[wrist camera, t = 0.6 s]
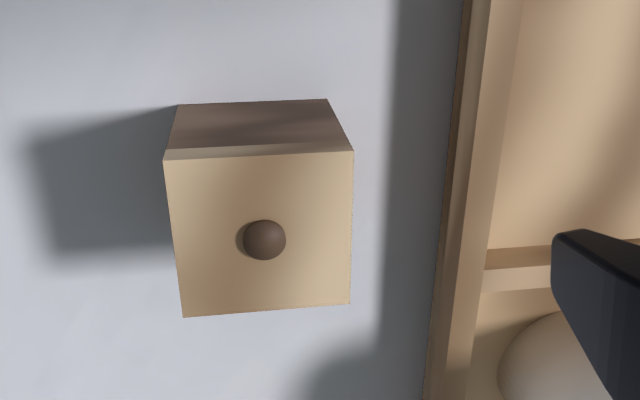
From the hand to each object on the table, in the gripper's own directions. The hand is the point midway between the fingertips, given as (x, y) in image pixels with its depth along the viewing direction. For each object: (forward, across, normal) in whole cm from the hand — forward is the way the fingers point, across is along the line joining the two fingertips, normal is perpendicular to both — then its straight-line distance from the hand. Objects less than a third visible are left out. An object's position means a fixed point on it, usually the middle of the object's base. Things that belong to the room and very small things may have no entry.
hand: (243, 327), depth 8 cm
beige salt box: (+13, 0, +3) cm, 13 cm away
